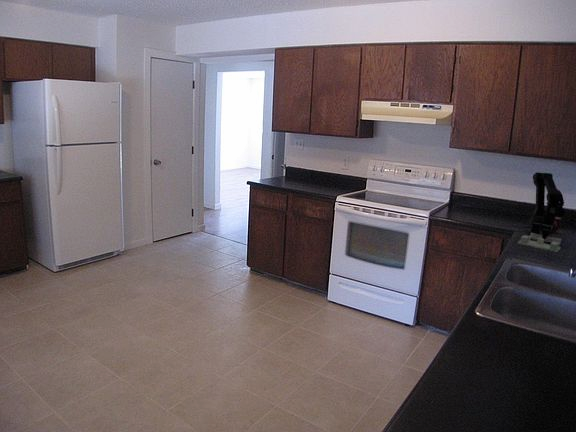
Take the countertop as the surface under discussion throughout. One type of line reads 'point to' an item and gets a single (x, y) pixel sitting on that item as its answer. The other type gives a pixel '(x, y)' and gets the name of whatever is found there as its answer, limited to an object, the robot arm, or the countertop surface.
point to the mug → (558, 221)
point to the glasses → (545, 239)
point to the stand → (539, 244)
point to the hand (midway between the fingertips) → (545, 239)
